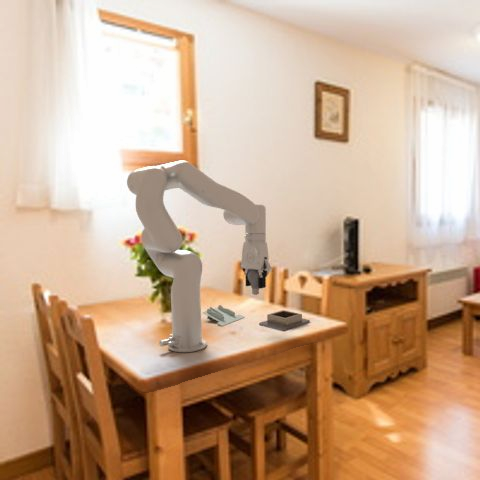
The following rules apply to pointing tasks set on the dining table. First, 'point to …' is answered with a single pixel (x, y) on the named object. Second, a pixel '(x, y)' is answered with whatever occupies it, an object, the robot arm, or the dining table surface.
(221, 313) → the metal bracket
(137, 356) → the dining table surface
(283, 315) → the grey square socket base
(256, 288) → the light bulb
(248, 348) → the dining table surface
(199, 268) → the robot arm
